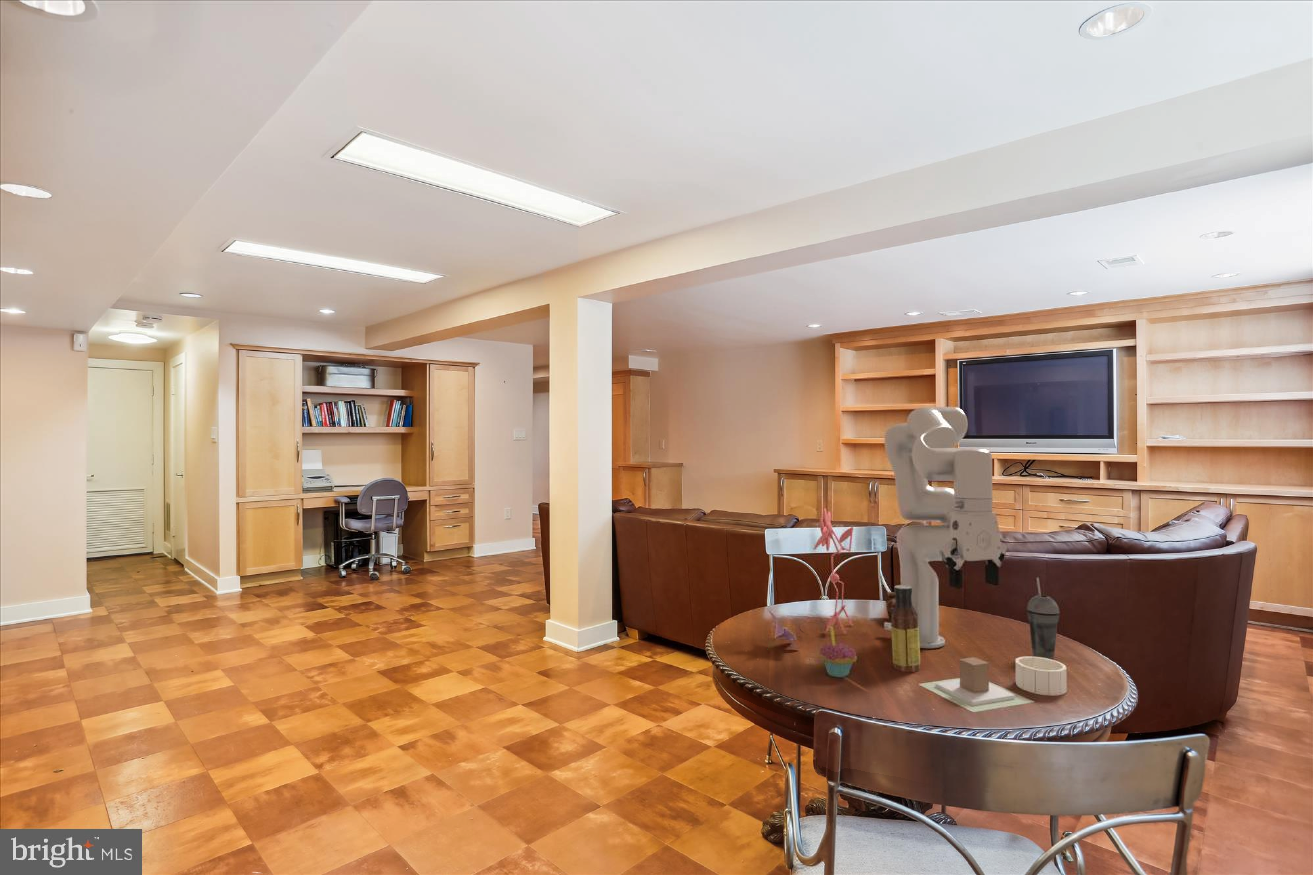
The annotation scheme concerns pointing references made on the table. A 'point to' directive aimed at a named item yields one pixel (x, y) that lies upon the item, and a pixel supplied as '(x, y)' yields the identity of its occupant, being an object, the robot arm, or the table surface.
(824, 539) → the figurine
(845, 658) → the cupcake
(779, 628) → the lily
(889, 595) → the decorative turtle
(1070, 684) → the table surface
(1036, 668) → the bowl
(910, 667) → the sauce bottle
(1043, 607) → the beverage cup
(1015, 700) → the mat
